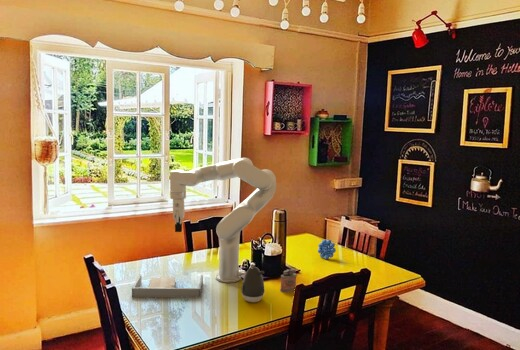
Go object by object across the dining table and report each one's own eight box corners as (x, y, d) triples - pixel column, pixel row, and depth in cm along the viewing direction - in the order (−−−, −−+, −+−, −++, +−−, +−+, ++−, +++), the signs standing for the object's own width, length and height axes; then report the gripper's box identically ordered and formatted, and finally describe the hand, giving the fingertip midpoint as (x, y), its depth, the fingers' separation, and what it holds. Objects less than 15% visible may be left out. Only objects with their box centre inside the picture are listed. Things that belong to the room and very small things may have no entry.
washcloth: (146, 297, 192) (146, 291, 191) (150, 281, 209) (150, 275, 209) (174, 296, 194) (174, 290, 193) (175, 281, 211) (175, 275, 211)
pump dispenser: (256, 307, 185) (257, 273, 183) (236, 301, 190) (237, 267, 188) (268, 299, 194) (270, 266, 191) (249, 293, 199) (250, 261, 197)
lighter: (282, 293, 201) (283, 272, 199) (278, 290, 204) (279, 269, 202) (297, 290, 204) (298, 269, 203) (293, 287, 207) (294, 267, 206)
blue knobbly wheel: (338, 260, 249) (340, 239, 247) (332, 262, 244) (333, 242, 242) (321, 255, 257) (323, 235, 255) (315, 257, 252) (316, 237, 250)
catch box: (202, 283, 208) (202, 275, 208) (200, 297, 193) (200, 288, 192) (139, 282, 206) (139, 274, 206) (131, 296, 191) (131, 288, 190)
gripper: (184, 198, 206) (185, 235, 209) (186, 192, 221) (187, 227, 224) (168, 198, 206) (169, 235, 208) (171, 192, 220) (172, 227, 223)
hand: (178, 231), depth 216 cm, fingers closed
